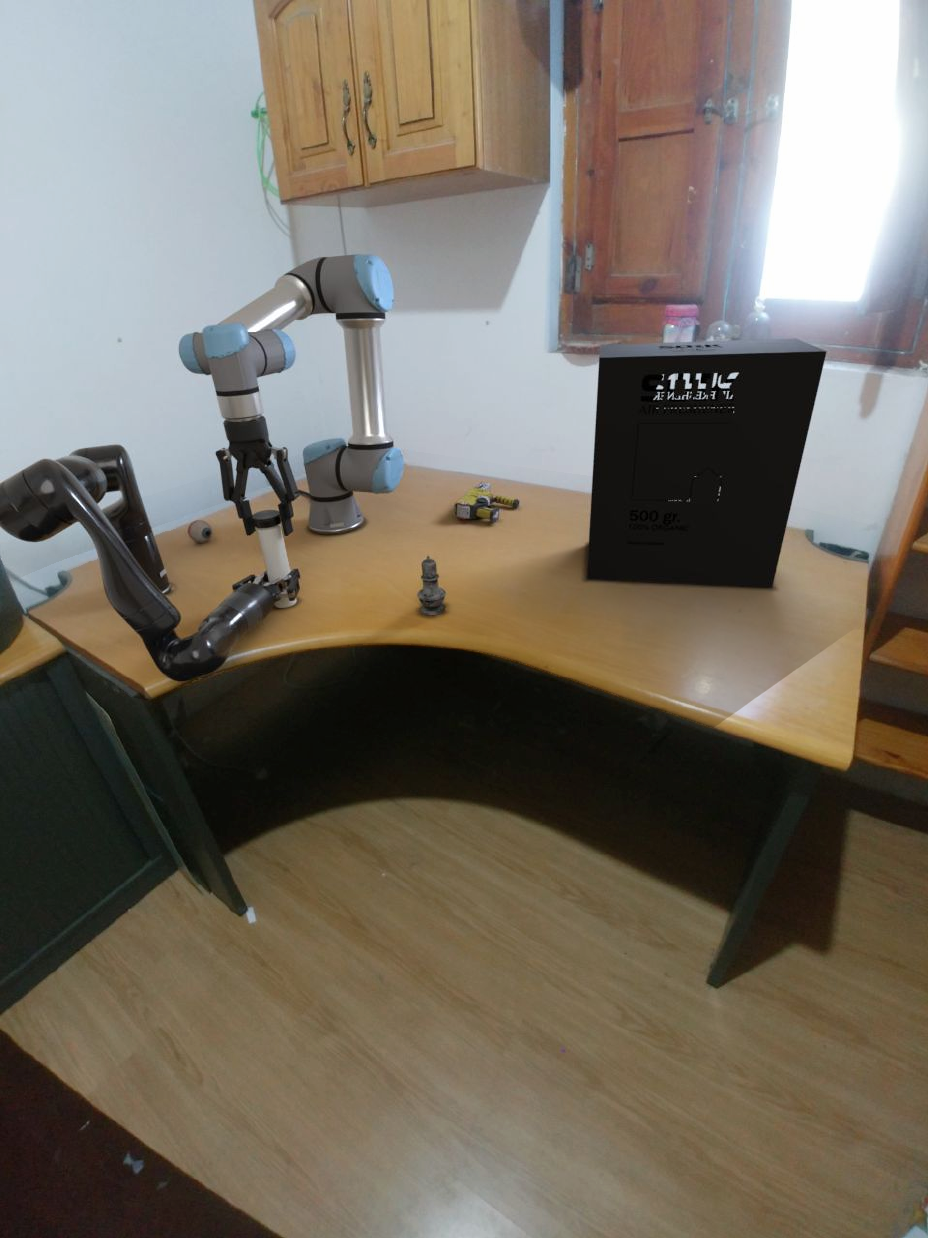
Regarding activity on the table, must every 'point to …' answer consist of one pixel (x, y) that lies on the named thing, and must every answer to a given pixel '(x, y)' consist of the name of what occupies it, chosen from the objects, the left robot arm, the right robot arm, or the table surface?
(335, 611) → the table surface
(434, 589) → the salt shaker
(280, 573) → the bottle
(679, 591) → the table surface
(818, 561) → the table surface
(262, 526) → the lid
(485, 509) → the toy gun
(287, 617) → the table surface
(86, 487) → the left robot arm
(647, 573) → the cardboard box
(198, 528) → the eyeball
